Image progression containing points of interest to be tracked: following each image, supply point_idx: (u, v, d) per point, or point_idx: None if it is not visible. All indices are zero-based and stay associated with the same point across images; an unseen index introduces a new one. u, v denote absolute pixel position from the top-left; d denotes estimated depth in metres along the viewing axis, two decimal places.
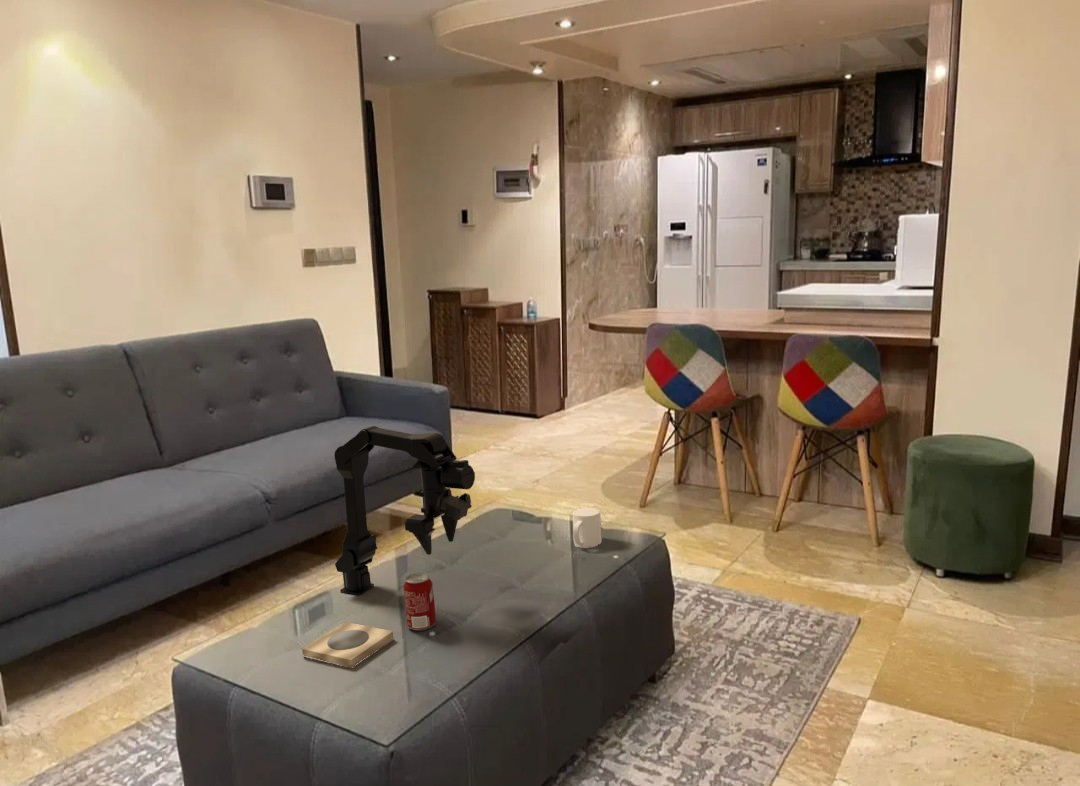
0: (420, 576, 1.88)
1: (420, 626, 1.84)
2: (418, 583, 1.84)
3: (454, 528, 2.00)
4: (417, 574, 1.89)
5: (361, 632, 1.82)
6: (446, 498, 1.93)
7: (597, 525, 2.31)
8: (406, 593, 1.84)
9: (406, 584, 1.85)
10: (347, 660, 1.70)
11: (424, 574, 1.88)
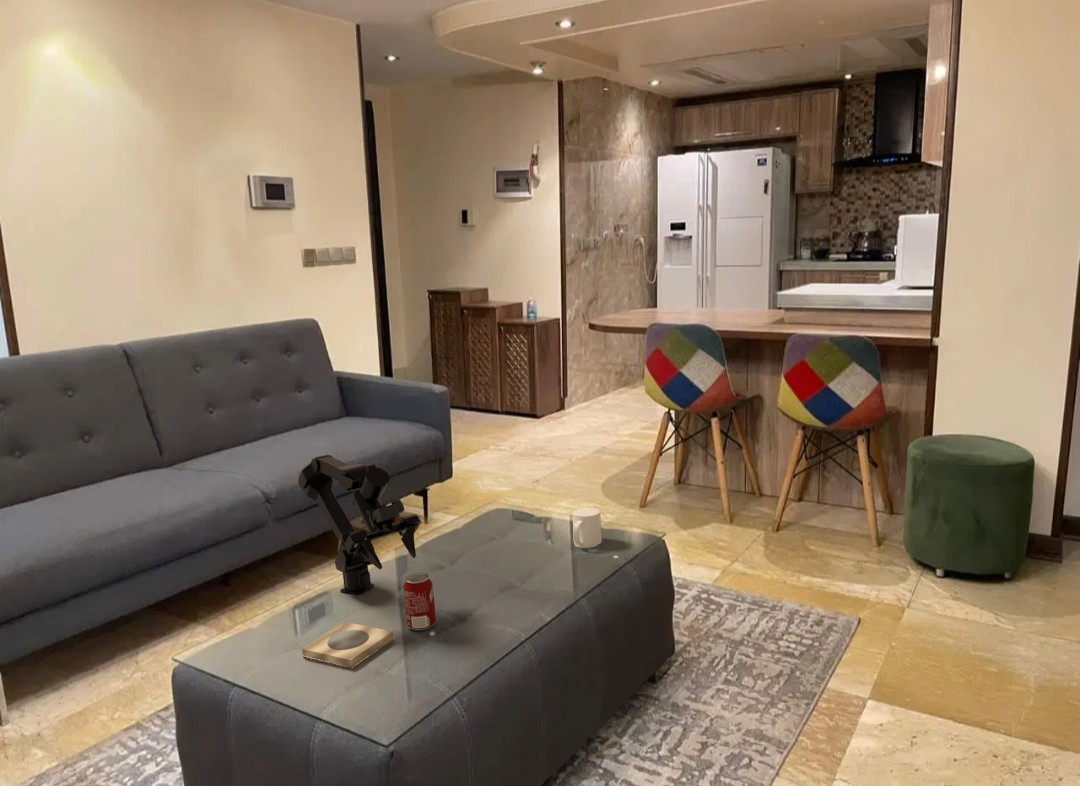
0: (420, 576, 1.88)
1: (420, 626, 1.84)
2: (418, 583, 1.84)
3: (411, 542, 1.96)
4: (417, 574, 1.89)
5: (361, 632, 1.82)
6: None
7: (597, 525, 2.31)
8: (406, 593, 1.84)
9: (406, 584, 1.85)
10: (347, 660, 1.70)
11: (424, 574, 1.88)
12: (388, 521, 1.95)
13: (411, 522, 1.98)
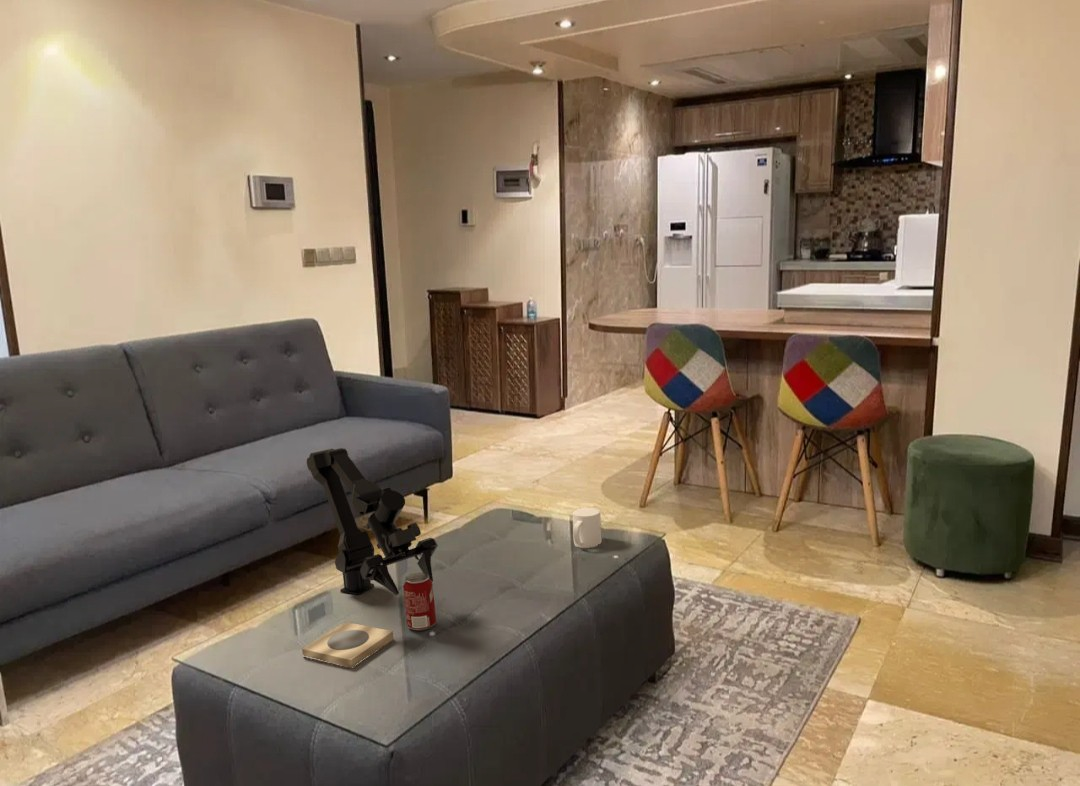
0: (420, 576, 1.88)
1: (420, 626, 1.84)
2: (418, 583, 1.84)
3: (428, 567, 1.92)
4: (417, 574, 1.89)
5: (361, 632, 1.82)
6: None
7: (597, 525, 2.31)
8: (406, 593, 1.84)
9: (406, 584, 1.85)
10: (347, 660, 1.70)
11: (424, 574, 1.88)
12: (404, 545, 1.91)
13: (428, 546, 1.93)
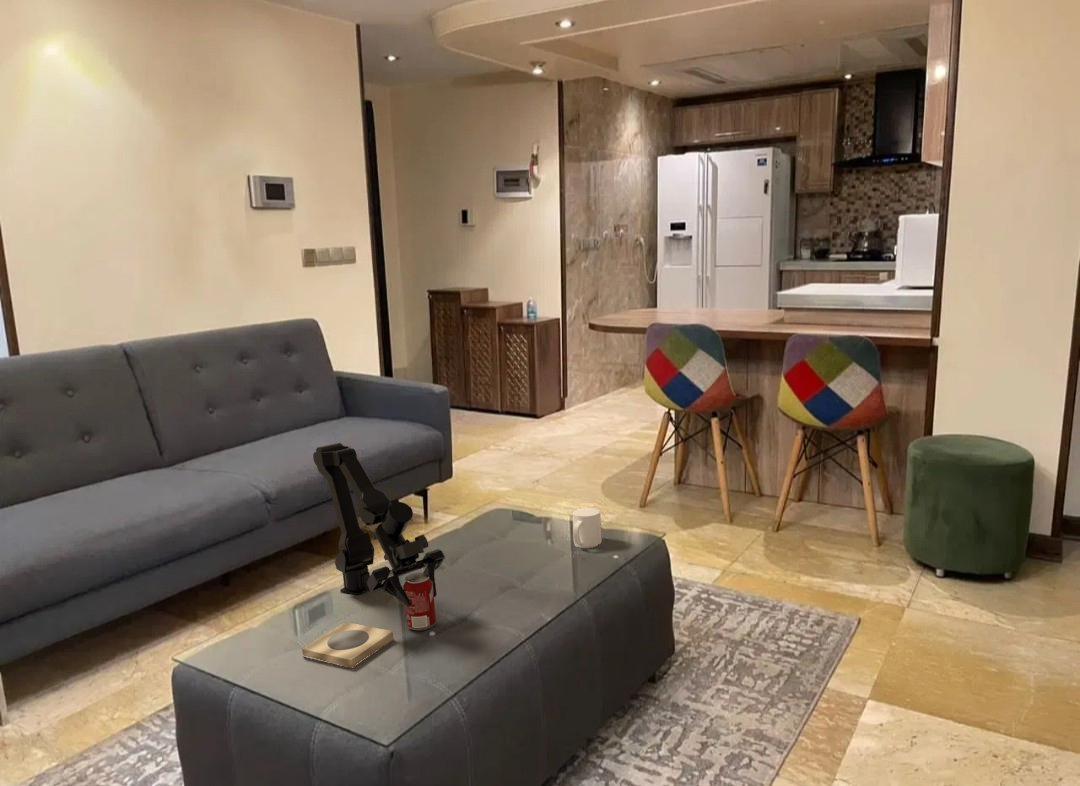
0: (420, 576, 1.88)
1: (420, 626, 1.84)
2: (418, 583, 1.84)
3: (432, 580, 1.89)
4: (417, 574, 1.89)
5: (361, 632, 1.82)
6: None
7: (597, 525, 2.31)
8: (406, 593, 1.84)
9: (406, 584, 1.85)
10: (347, 660, 1.70)
11: (424, 574, 1.88)
12: (412, 557, 1.89)
13: (435, 558, 1.91)
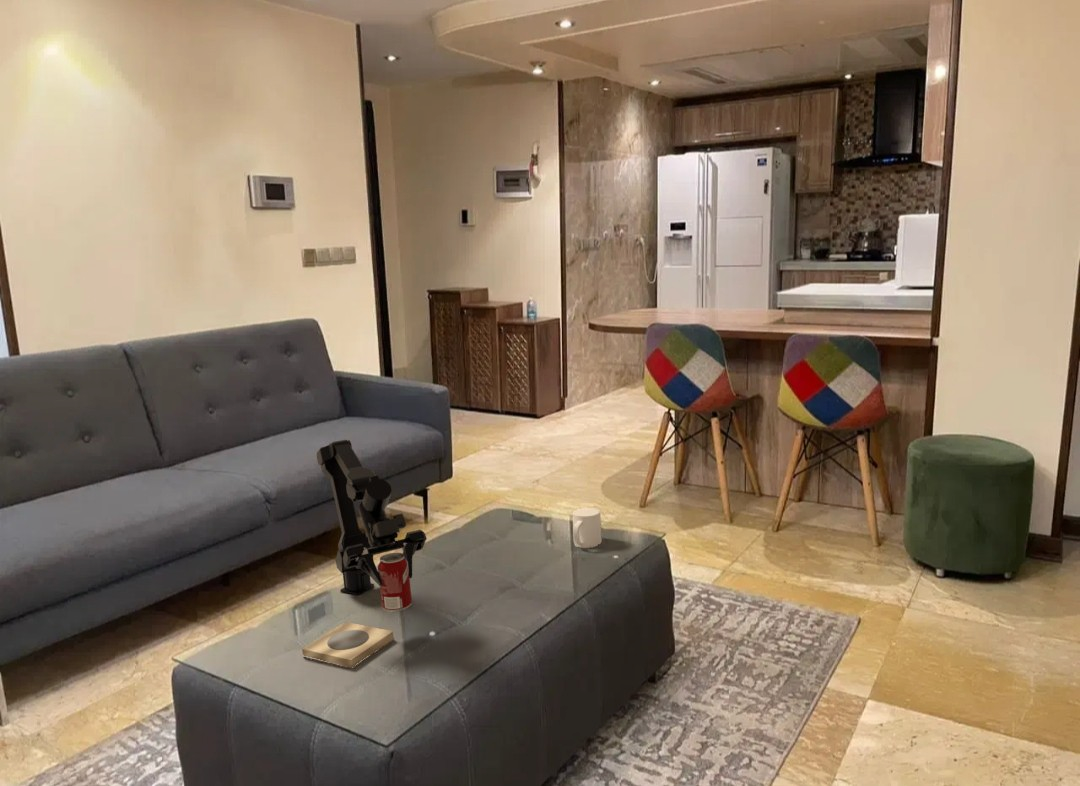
0: (396, 556, 1.83)
1: (392, 607, 1.80)
2: (391, 563, 1.79)
3: (409, 561, 1.84)
4: (394, 554, 1.84)
5: (361, 632, 1.82)
6: None
7: (597, 525, 2.31)
8: (379, 573, 1.80)
9: (380, 563, 1.80)
10: (347, 660, 1.70)
11: (401, 554, 1.83)
12: (390, 536, 1.84)
13: (415, 538, 1.86)
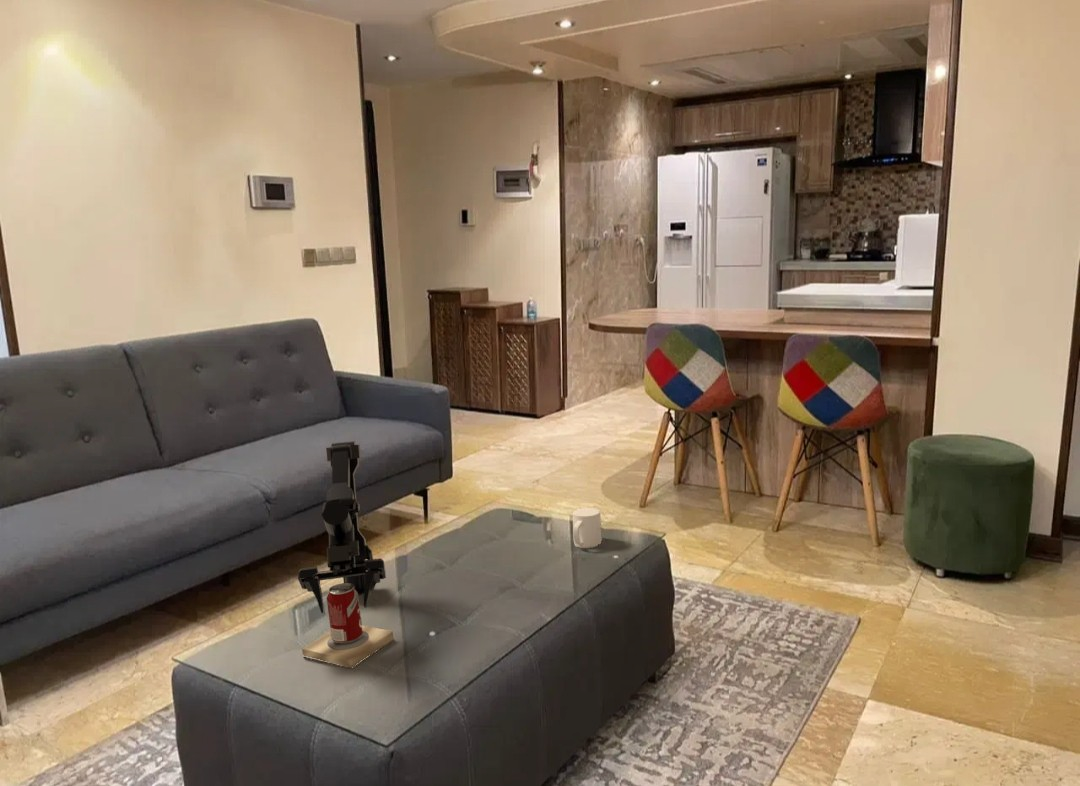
0: (348, 587, 1.78)
1: (337, 639, 1.76)
2: (335, 594, 1.75)
3: (366, 590, 1.78)
4: (348, 584, 1.79)
5: None
6: None
7: (597, 525, 2.31)
8: (327, 602, 1.77)
9: (329, 593, 1.77)
10: (347, 660, 1.70)
11: (352, 586, 1.78)
12: (346, 562, 1.80)
13: (370, 567, 1.79)
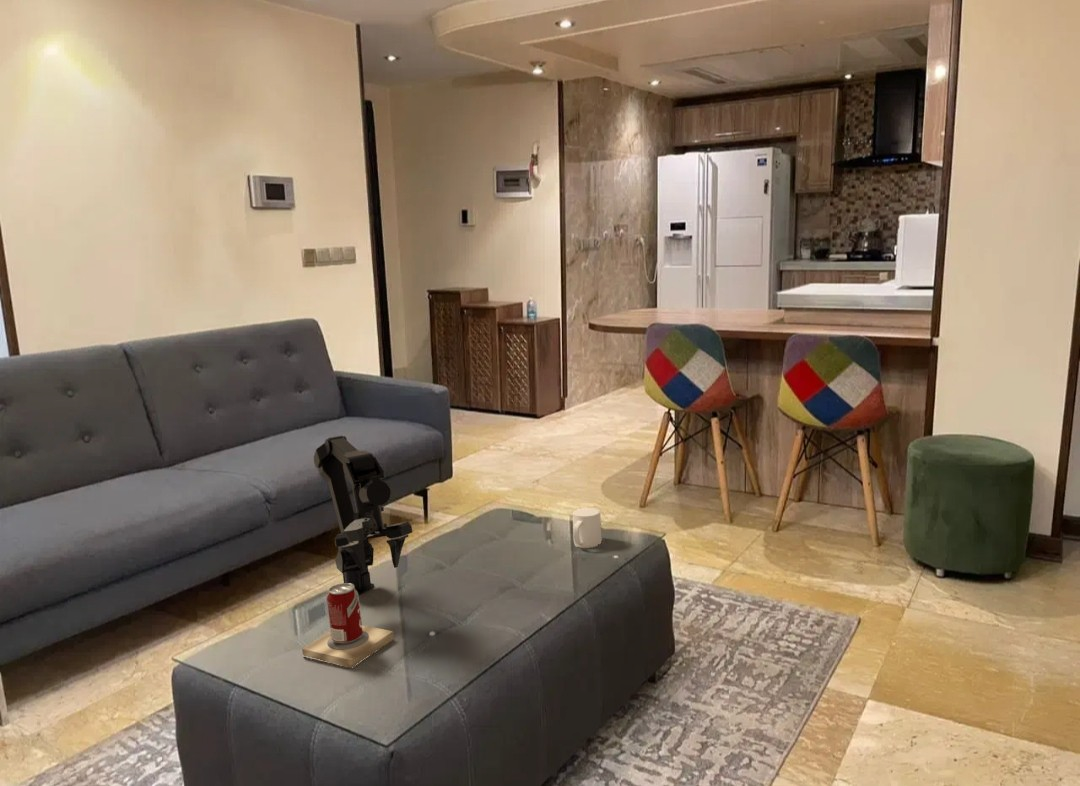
0: (348, 587, 1.78)
1: (337, 639, 1.76)
2: (335, 594, 1.75)
3: (392, 554, 1.91)
4: (348, 584, 1.79)
5: None
6: (359, 519, 1.91)
7: (597, 525, 2.31)
8: (327, 602, 1.77)
9: (329, 593, 1.77)
10: (347, 660, 1.70)
11: (353, 586, 1.78)
12: None
13: (389, 537, 1.89)
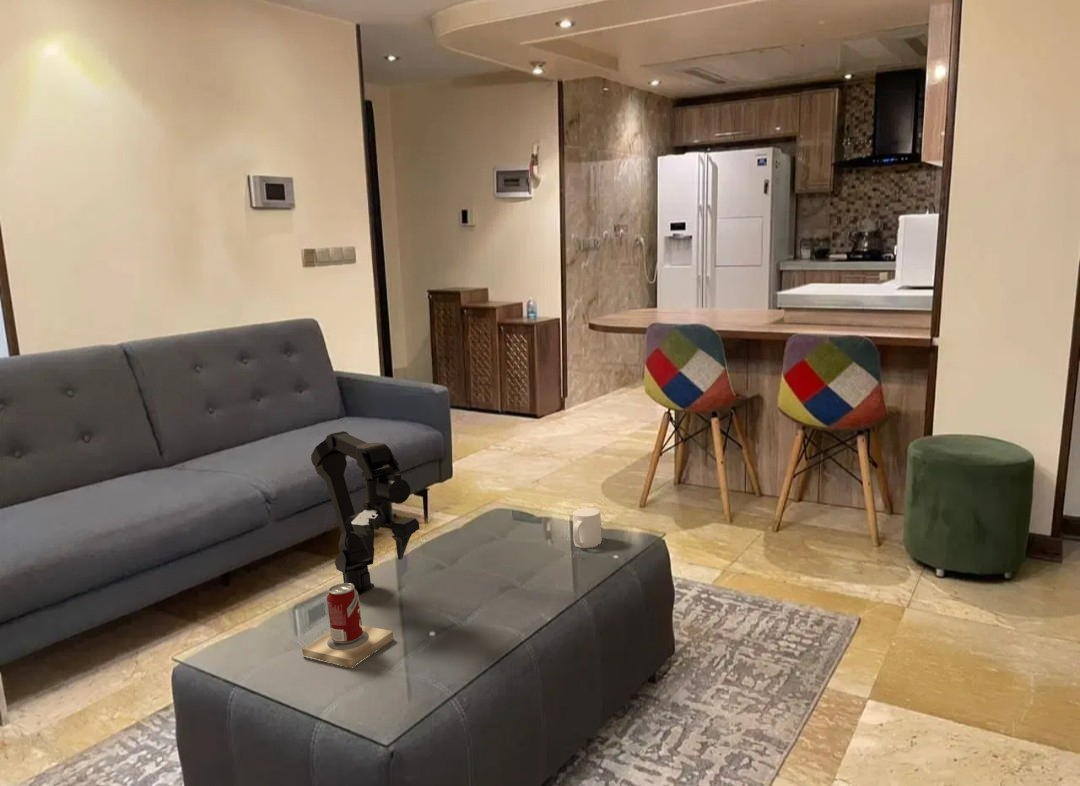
0: (348, 587, 1.78)
1: (337, 639, 1.76)
2: (335, 594, 1.75)
3: (397, 548, 1.94)
4: (348, 584, 1.79)
5: None
6: (368, 510, 1.93)
7: (597, 525, 2.31)
8: (327, 602, 1.77)
9: (329, 593, 1.77)
10: (347, 660, 1.70)
11: (353, 586, 1.78)
12: None
13: (395, 534, 1.91)
